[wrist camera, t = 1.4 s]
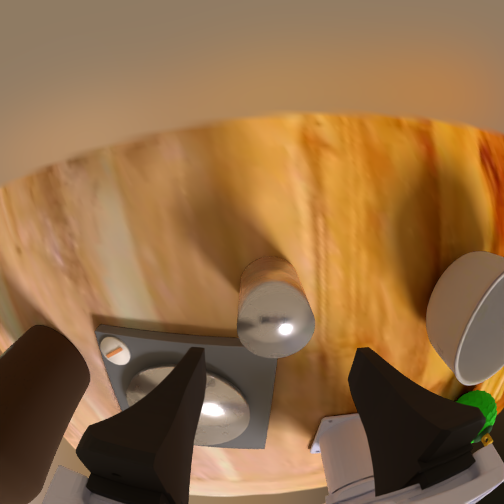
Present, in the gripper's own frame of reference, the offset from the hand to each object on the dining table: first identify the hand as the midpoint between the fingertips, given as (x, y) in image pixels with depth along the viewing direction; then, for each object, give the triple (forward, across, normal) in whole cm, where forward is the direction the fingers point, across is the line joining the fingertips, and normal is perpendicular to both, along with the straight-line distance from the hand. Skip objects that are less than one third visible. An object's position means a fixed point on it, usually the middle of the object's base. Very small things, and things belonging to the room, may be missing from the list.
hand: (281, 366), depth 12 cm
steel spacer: (+9, 0, 0) cm, 9 cm away
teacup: (+10, -20, +1) cm, 22 cm away
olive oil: (+10, +23, +11) cm, 27 cm away
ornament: (+10, -30, +19) cm, 37 cm away
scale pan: (+8, +7, +13) cm, 17 cm away
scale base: (+9, +7, +13) cm, 17 cm away
